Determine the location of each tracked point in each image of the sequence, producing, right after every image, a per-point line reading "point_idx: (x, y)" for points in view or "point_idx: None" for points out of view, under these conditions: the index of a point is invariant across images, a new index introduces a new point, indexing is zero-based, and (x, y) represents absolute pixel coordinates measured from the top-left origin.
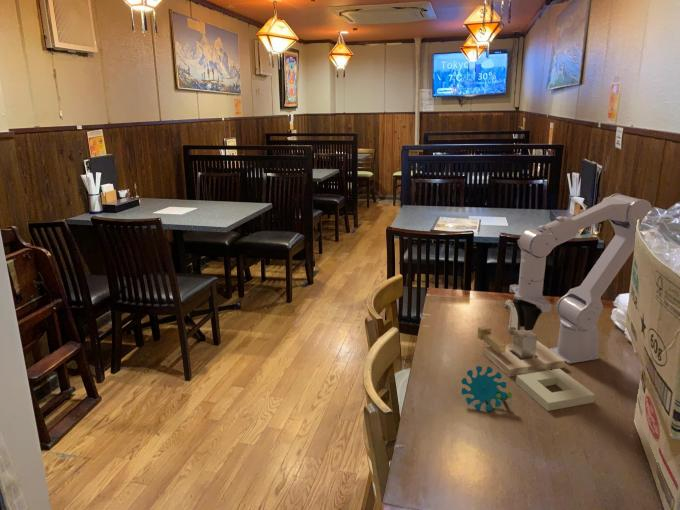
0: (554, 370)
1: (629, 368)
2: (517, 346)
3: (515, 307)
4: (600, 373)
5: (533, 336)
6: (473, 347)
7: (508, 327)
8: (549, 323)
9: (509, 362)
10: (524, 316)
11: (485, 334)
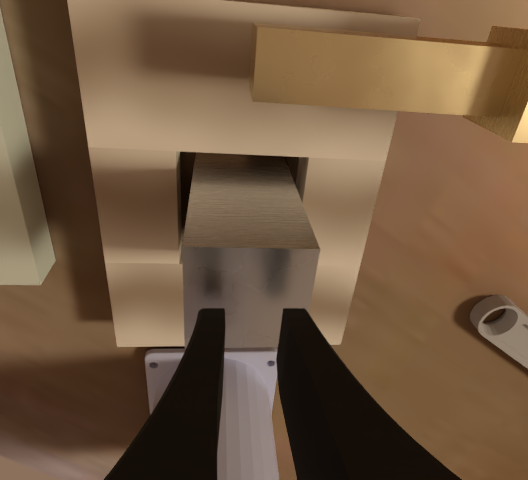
0: (21, 252)
1: (76, 476)
2: (247, 195)
3: (430, 456)
4: (54, 399)
5: (184, 320)
6: (503, 8)
7: (520, 312)
8: (448, 444)
9: (164, 58)
10: (205, 420)
11: (489, 54)
